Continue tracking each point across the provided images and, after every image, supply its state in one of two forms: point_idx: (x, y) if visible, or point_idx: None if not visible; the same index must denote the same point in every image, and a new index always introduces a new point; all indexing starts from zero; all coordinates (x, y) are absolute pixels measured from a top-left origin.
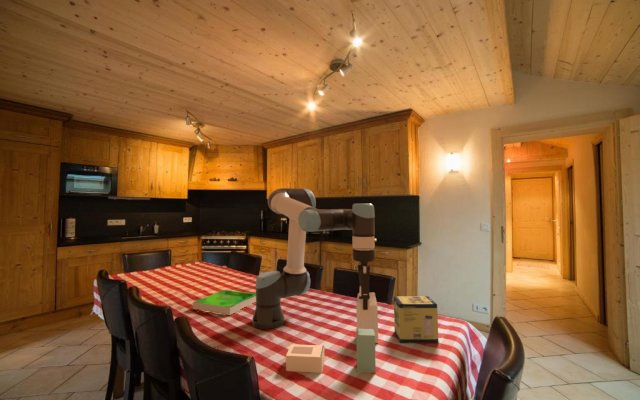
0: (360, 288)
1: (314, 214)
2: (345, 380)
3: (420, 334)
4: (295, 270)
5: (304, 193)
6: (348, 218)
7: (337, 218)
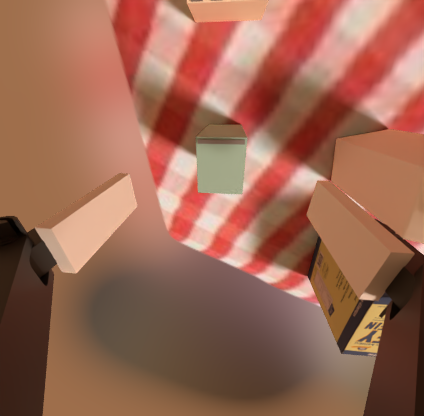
0: (374, 244)
1: None
2: (175, 96)
3: (319, 266)
4: None
5: None
6: None
7: None
